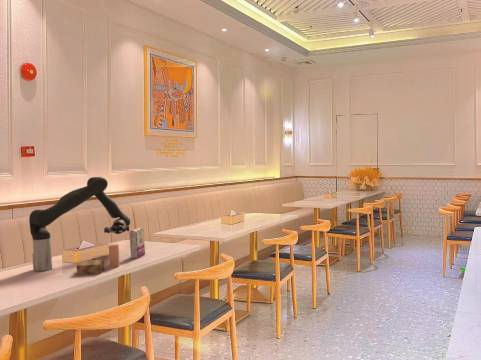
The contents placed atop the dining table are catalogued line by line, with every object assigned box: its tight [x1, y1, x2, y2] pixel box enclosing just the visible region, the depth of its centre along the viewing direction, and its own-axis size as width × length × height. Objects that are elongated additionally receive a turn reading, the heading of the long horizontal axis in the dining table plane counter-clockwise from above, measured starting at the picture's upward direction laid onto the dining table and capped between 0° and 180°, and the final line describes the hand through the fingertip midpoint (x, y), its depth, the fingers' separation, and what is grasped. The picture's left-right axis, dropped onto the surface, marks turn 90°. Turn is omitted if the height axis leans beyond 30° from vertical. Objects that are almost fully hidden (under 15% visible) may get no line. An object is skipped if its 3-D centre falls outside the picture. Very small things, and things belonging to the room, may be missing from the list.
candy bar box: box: [128, 227, 146, 259], centre depth 303 cm, size 11×5×16 cm, turn 168°
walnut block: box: [76, 259, 105, 276], centre depth 267 cm, size 12×12×5 cm
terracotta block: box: [107, 243, 121, 268], centre depth 279 cm, size 5×5×12 cm
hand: (115, 231), depth 290 cm, fingers open, 8 cm apart
